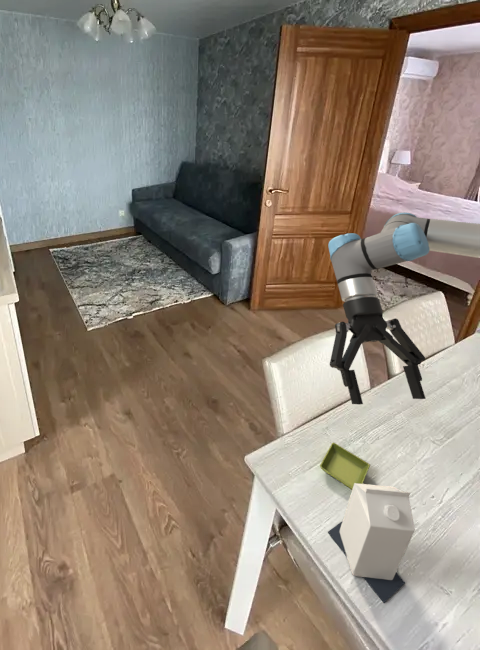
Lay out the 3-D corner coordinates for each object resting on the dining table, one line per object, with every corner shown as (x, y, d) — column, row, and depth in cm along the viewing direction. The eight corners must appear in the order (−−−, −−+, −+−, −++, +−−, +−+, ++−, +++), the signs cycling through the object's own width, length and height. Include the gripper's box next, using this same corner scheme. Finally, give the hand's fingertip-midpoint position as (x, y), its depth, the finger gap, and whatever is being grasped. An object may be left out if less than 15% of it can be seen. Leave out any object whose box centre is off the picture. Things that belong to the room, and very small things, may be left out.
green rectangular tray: (356, 499, 76) (359, 492, 75) (317, 472, 81) (319, 466, 80) (368, 470, 82) (370, 464, 81) (331, 447, 87) (332, 441, 86)
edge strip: (404, 583, 62) (405, 582, 62) (383, 603, 60) (384, 602, 60) (347, 517, 72) (348, 516, 72) (327, 532, 70) (327, 531, 70)
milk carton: (338, 531, 70) (358, 468, 62) (375, 535, 69) (399, 472, 62) (352, 576, 63) (376, 511, 56) (392, 581, 62) (422, 515, 55)
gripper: (399, 301, 83) (430, 396, 75) (301, 306, 81) (322, 405, 73) (422, 292, 76) (459, 396, 68) (315, 298, 74) (340, 407, 66)
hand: (388, 401), depth 70 cm, fingers open, 13 cm apart
